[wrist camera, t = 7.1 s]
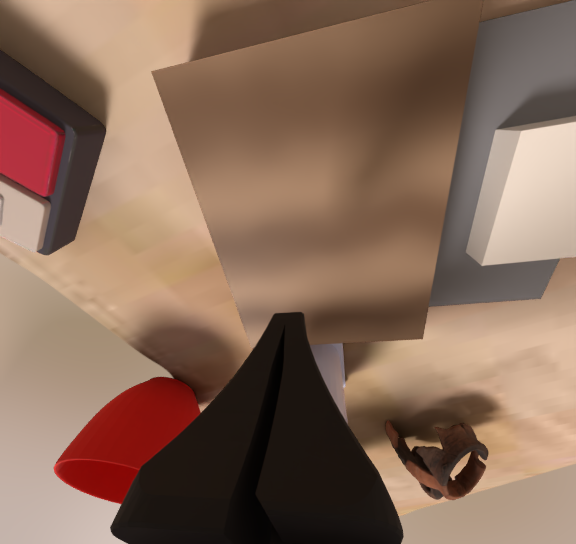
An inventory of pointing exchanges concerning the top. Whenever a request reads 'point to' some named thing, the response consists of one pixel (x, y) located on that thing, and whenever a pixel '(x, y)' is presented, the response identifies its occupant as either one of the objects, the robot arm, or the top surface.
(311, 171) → the block
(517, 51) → the mat
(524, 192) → the tile
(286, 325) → the robot arm
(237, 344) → the top surface
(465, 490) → the pottery mug
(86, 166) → the calculator
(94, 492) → the ceramic cup
